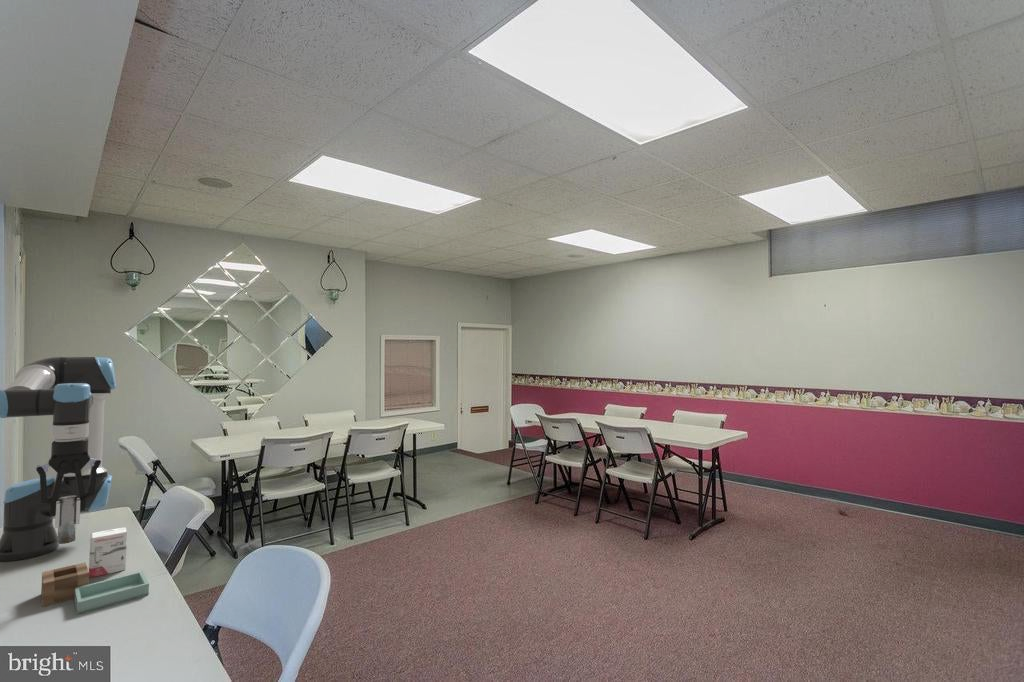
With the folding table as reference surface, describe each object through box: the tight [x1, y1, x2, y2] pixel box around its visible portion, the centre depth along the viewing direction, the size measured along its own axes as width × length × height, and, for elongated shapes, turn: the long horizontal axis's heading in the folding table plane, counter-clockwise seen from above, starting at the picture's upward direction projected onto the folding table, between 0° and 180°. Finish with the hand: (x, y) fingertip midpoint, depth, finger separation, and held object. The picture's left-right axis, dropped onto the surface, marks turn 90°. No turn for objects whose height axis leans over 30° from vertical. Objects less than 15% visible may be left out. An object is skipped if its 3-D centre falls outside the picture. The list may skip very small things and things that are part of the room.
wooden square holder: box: [40, 562, 90, 607], centre depth 132 cm, size 9×9×6 cm
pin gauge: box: [57, 495, 77, 545], centre depth 133 cm, size 4×4×12 cm
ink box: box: [88, 527, 128, 579], centre depth 146 cm, size 9×5×12 cm, turn 132°
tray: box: [73, 570, 150, 615], centre depth 131 cm, size 11×15×3 cm
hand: (67, 524), depth 133 cm, fingers closed on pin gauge, 3 cm apart
